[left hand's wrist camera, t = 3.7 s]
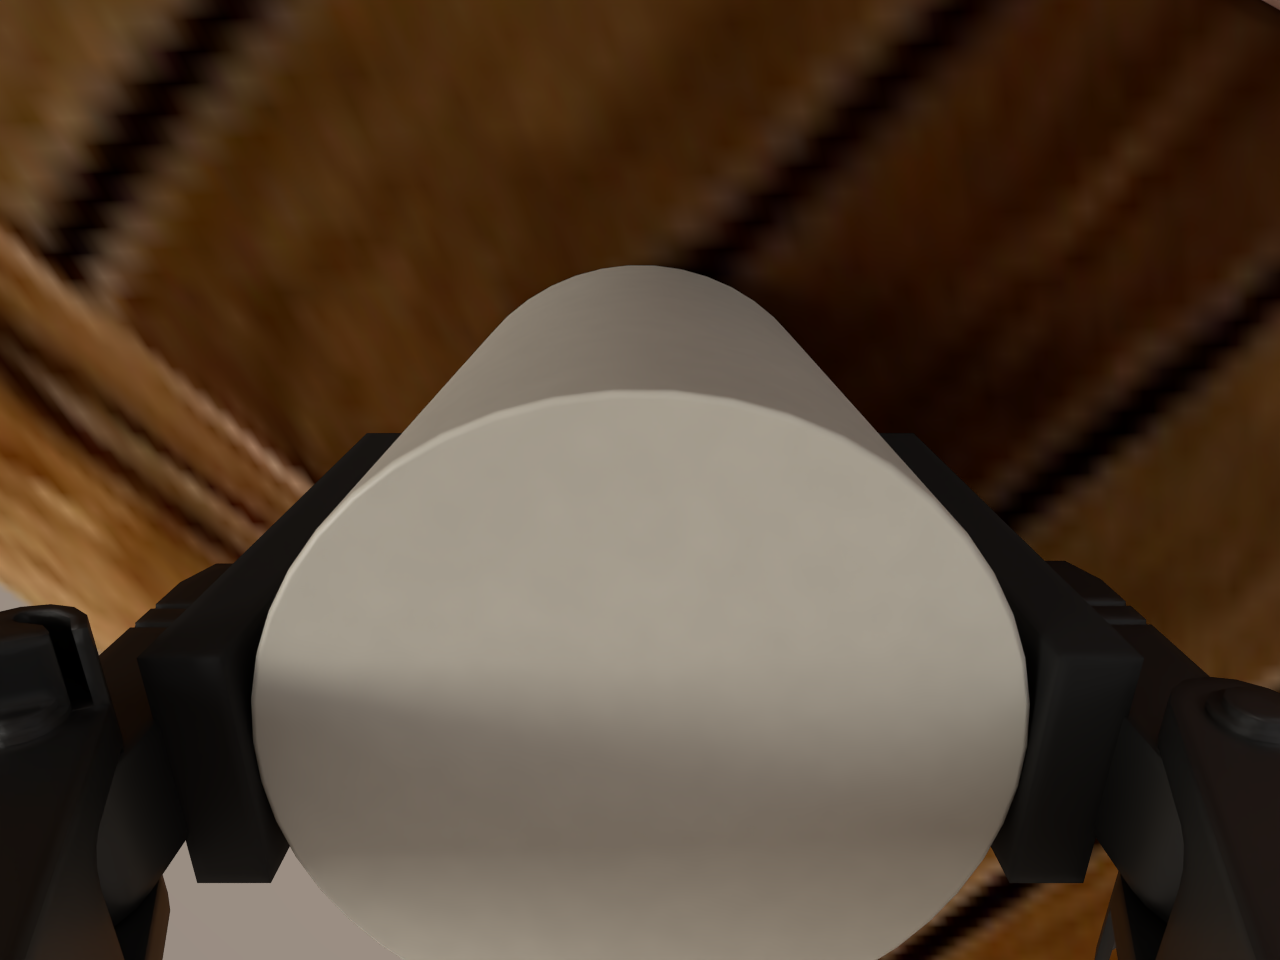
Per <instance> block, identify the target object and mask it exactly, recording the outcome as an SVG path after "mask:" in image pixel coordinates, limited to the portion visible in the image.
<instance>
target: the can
mask: <svg viewBox="0 0 1280 960" xmlns="http://www.w3.org/2000/svg"><path fill="white" fill-rule="evenodd" d="M251 708H252V729H253V744H254V749H255V753H256V758H257V763H258V768H259V772H260V777H261V782H262V785H263V787H264V790H265V793H266V795H267V798H268V801H269V803H270V806H271V809H272V811H273V814H274V817H275V819H276V822H277V823H278V825H279V827H280V829H281V831H282V832H283V834H284V836H285V838H286V840H287V841H288V843H289V845H290V847H291V849H292V851H293V852H294V854H295V856H296V857H297V859H298V860H299V861H300V863H301V864H302V865H303V867H304V868H305V869H306V871H307V872H308V874H309V875H310V876H311V878H312V879H313V880H314V882H315V883H316V884H317V886H318V887H319V888H320V889H321V891H322V892H323V893H324V894H325V895H326V896H327V897H328V898H329V899H330V900H331V901H332V902H333V903H334V904H335V905H336V906H337V907H338V908H339V909H340V910H341V911H342V912H343V913H344V914H345V915H346V917H348V919H350V920H351V921H352V922H353V923H354V924H356V925H357V926H358V927H359V928H361V929H362V930H363V931H364V932H366V933H367V934H368V935H369V936H370V937H372V938H373V939H374V940H375V941H376V942H378V943H379V944H380V945H382V946H383V947H385V948H386V949H388V950H389V951H391V952H392V953H394V954H395V955H397V956H398V957H400V958H402V959H403V960H878V959H879V958H881V957H882V956H884V955H885V954H887V953H889V952H890V951H892V950H893V949H895V948H896V947H898V946H899V945H900V944H902V943H903V942H904V941H905V940H907V939H908V938H909V937H910V936H912V935H913V934H914V933H915V932H917V931H918V930H919V929H920V928H922V927H923V926H924V925H925V924H927V923H928V922H929V921H930V920H931V919H932V918H933V917H934V916H935V915H936V914H937V913H938V912H939V911H940V910H941V909H942V908H943V907H944V906H945V905H946V904H947V903H948V902H949V901H950V900H951V899H952V898H953V897H954V896H955V895H956V894H957V893H958V892H959V890H960V889H961V888H962V886H963V885H964V884H965V882H966V881H967V880H968V878H969V877H970V876H971V875H972V873H973V872H974V871H975V869H976V868H977V867H978V865H979V864H980V863H981V861H982V860H983V859H984V857H985V855H986V853H987V852H988V850H989V848H990V846H991V845H992V843H993V841H994V839H995V837H996V836H997V834H998V832H999V830H1000V829H1001V827H1002V825H1003V823H1004V821H1005V818H1006V815H1007V813H1008V810H1009V808H1010V805H1011V803H1012V800H1013V798H1014V795H1015V793H1016V790H1017V787H1018V784H1019V780H1020V775H1021V771H1022V766H1023V762H1024V758H1025V753H1026V749H1027V740H1028V724H1029V708H1030V700H1029V690H1028V680H1027V670H1026V660H1025V655H1024V651H1023V648H1022V644H1021V640H1020V637H1019V633H1018V629H1017V626H1016V622H1015V618H1014V615H1013V613H1012V610H1011V608H1010V606H1009V604H1008V602H1007V600H1006V597H1005V595H1004V593H1003V591H1002V589H1001V586H1000V584H999V582H998V580H997V578H996V576H995V573H994V572H993V570H992V569H991V567H990V566H989V564H988V563H987V561H986V560H985V558H984V557H983V555H982V554H981V552H980V551H979V549H978V548H977V546H976V545H975V543H974V542H973V540H972V539H971V538H970V536H969V535H968V533H967V532H966V531H965V530H964V529H963V527H962V526H961V525H960V524H959V523H958V522H957V521H956V520H955V519H954V517H953V516H952V515H951V514H950V513H949V512H948V511H947V510H946V508H945V507H944V506H943V505H942V504H941V503H940V502H939V501H938V500H937V498H936V497H935V496H934V495H933V494H932V493H931V492H930V491H929V489H928V488H927V487H926V486H925V485H924V484H923V483H922V482H921V481H920V479H919V478H918V477H917V476H916V475H915V474H914V473H913V472H912V470H911V469H910V468H909V467H908V466H907V465H906V464H905V463H904V462H903V460H902V459H901V458H900V457H899V456H898V455H897V454H896V453H895V452H894V450H893V449H892V448H891V447H890V446H889V445H888V444H887V443H886V441H885V440H884V439H883V438H882V437H881V436H880V435H879V434H878V433H877V431H876V430H875V429H874V428H873V427H872V426H871V425H870V424H869V422H868V421H867V420H866V419H865V418H864V417H863V416H862V415H861V414H860V412H859V411H858V410H857V409H856V408H855V407H854V406H853V405H852V403H851V402H850V401H849V400H848V399H847V398H846V397H845V396H844V395H843V393H842V392H841V391H840V390H839V389H838V388H837V387H836V386H835V384H834V383H833V382H832V381H831V380H830V379H829V378H828V377H827V376H826V374H825V373H824V372H823V371H822V370H821V369H820V368H819V367H818V365H817V364H816V363H815V362H814V361H813V360H812V359H811V358H810V357H809V355H808V354H807V353H806V352H805V351H804V350H803V349H802V348H801V346H800V345H799V344H798V343H797V342H796V341H795V340H794V339H793V338H792V336H791V335H790V334H789V333H788V332H787V331H786V330H785V329H784V328H783V327H782V326H781V324H780V323H779V322H778V321H777V320H776V319H775V318H774V317H773V316H772V315H770V314H769V313H768V312H767V311H766V310H764V309H763V308H762V307H761V306H759V305H758V304H757V303H756V302H755V301H753V300H752V299H750V298H748V297H747V296H745V295H743V294H742V293H740V292H738V291H737V290H735V289H734V288H732V287H730V286H727V285H725V284H723V283H721V282H718V281H716V280H714V279H711V278H709V277H706V276H703V275H699V274H696V273H692V272H689V271H685V270H682V269H675V268H668V267H661V266H620V267H613V268H605V269H599V270H596V271H592V272H588V273H584V274H581V275H577V276H574V277H572V278H569V279H567V280H565V281H562V282H560V283H558V284H555V285H553V286H551V287H549V288H547V289H546V290H544V291H542V292H540V293H539V294H537V295H535V296H534V297H532V298H530V299H529V300H527V301H526V302H525V303H524V304H522V305H521V306H520V307H519V308H517V309H516V310H515V311H514V312H512V313H511V314H510V315H509V316H508V317H507V318H506V319H505V320H504V321H503V322H502V323H501V324H500V325H499V326H498V327H497V328H496V329H495V330H494V331H493V332H492V333H491V335H490V336H489V337H488V338H487V339H486V340H485V341H484V342H483V343H482V345H481V346H480V347H479V348H478V349H477V350H476V351H475V352H474V354H473V355H472V356H471V357H470V358H469V359H468V360H467V361H466V362H465V364H464V365H463V366H462V367H461V368H460V369H459V370H458V371H457V373H456V374H455V375H454V376H453V377H452V378H451V379H450V380H449V381H448V383H447V384H446V385H445V386H444V387H443V388H442V389H441V390H440V392H439V393H438V394H437V395H436V396H435V397H434V398H433V399H432V401H431V402H430V403H429V404H428V405H427V406H426V407H425V408H424V409H423V411H422V412H421V413H420V414H419V415H418V416H417V417H416V418H415V420H414V421H413V422H412V423H411V424H410V425H409V426H408V427H407V428H406V430H405V431H404V432H403V433H402V434H401V435H400V436H399V437H398V439H397V440H396V441H395V442H394V443H393V444H392V445H391V446H390V447H389V449H388V450H387V451H386V452H385V453H384V454H383V455H382V456H381V458H380V459H379V460H378V461H377V462H376V463H375V464H374V465H373V467H372V468H371V469H370V470H369V471H368V472H367V473H366V474H365V475H364V477H363V478H362V479H361V480H360V481H359V482H358V483H357V484H356V486H355V487H354V488H353V489H352V490H351V491H350V492H349V493H348V494H347V496H346V497H345V498H344V499H343V500H342V501H341V502H340V503H339V505H338V506H337V507H336V508H335V509H334V510H333V511H332V512H331V514H330V515H329V516H328V517H327V518H326V519H325V520H324V521H323V522H322V524H321V525H320V526H319V527H318V528H317V529H316V530H315V532H314V533H313V535H312V536H311V538H310V539H309V541H308V542H307V543H306V545H305V546H304V548H303V549H302V551H301V552H300V554H299V555H298V556H297V558H296V559H295V561H294V562H293V564H292V565H291V567H290V568H289V570H288V572H287V574H286V576H285V578H284V580H283V582H282V584H281V586H280V588H279V590H278V593H277V595H276V597H275V599H274V601H273V603H272V605H271V607H270V609H269V612H268V615H267V618H266V622H265V625H264V629H263V632H262V636H261V639H260V643H259V646H258V650H257V653H256V661H255V669H254V678H253V686H252V695H251Z"/></svg>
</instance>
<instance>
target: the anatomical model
mask: <svg viewBox="0 0 1280 960" xmlns="http://www.w3.org/2000/svg"><path fill="white" fill-rule="evenodd" d="M1263 1H1264V2H1266V3H1268V4H1270V5H1272V6H1273V7H1275V8H1277V9H1279V10H1280V0H1263Z"/></svg>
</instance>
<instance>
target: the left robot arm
mask: <svg viewBox="0 0 1280 960" xmlns="http://www.w3.org/2000/svg"><path fill="white" fill-rule="evenodd" d="M401 434H402V433H367V434H366V435H365V436H364V437H363V438H362V439H361V440H360V441H359V442H358V443H357V444H356V445H354V446H353V447H352V448H351V449H350V450H349V451H348V452H347V453H346V454H345V455H344V456H343V457H342V458H341V459H340V460H339V461H338V462H337V463H336V464H335V465H334V466H333V467H332V468H331V469H330V470H329V471H328V472H327V473H326V474H325V475H324V476H323V477H322V478H321V479H320V480H319V481H318V482H317V483H316V484H314V485H313V486H312V487H311V488H310V489H309V490H308V491H307V492H306V493H305V494H304V495H303V496H302V497H301V498H300V499H299V500H298V501H297V502H296V503H295V504H294V505H293V506H292V507H291V508H290V509H289V510H288V511H287V512H286V513H285V514H284V515H283V516H282V517H281V518H280V519H279V520H278V521H277V522H276V523H274V524H273V525H272V526H271V527H270V528H269V529H268V530H267V531H266V532H265V533H264V534H263V535H262V536H261V537H260V538H259V539H258V540H257V541H256V542H255V543H254V544H253V545H252V546H251V547H250V548H249V549H248V550H247V551H246V552H245V553H244V554H243V555H242V556H241V557H240V558H239V559H238V560H237V561H236V562H234V563H233V564H215V565H213V566H211V567H209V568H207V569H205V570H203V571H201V572H199V573H197V574H195V575H193V576H192V577H190V578H188V579H186V580H184V581H182V582H180V583H179V584H178V585H177V586H176V587H174V588H173V589H172V590H171V591H170V592H169V593H168V594H167V595H166V596H165V597H163V598H162V599H161V600H160V601H159V602H158V603H157V604H156V608H155V609H150V610H149V611H148V612H147V613H146V614H145V615H143V616H142V617H141V618H140V619H139V620H138V621H137V622H136V623H135V624H136V625H135V628H129V629H128V630H127V631H126V632H125V633H124V634H122V635H121V636H120V637H119V638H118V639H117V640H116V641H115V642H114V643H112V644H111V645H110V646H109V647H108V648H107V649H106V650H105V651H104V652H103V653H101V654H100V655H98V651H97V648H96V644H95V641H94V638H93V634H92V631H91V627H90V624H89V620H88V617H87V615H86V614H84V613H83V612H81V611H80V610H78V609H76V608H75V607H69V606H61V605H52V604H49V605H38V606H27V607H19V608H14V609H10V610H6V611H1V612H0V960H162V959H163V952H164V946H165V940H166V933H167V927H168V921H169V914H170V906H169V898H168V892H167V889H166V885H165V882H164V878H163V875H162V874H163V873H164V871H165V870H166V868H167V867H168V865H169V864H170V862H171V861H172V860H173V858H174V857H175V855H176V854H177V852H178V851H179V849H180V848H181V846H182V845H183V843H184V842H185V840H186V843H187V846H188V850H189V854H190V858H191V861H192V865H193V868H194V872H195V876H196V880H197V883H271V882H272V880H273V878H274V876H275V874H276V872H277V870H278V868H279V866H280V864H281V862H282V860H283V858H284V856H285V854H286V852H287V850H288V848H289V847H290V845H289V843H288V841H287V840H286V838H285V836H284V834H283V832H282V831H281V829H280V827H279V825H278V823H277V822H276V819H275V817H274V814H273V811H272V809H271V806H270V803H269V801H268V798H267V795H266V793H265V790H264V787H263V785H262V782H261V777H260V772H259V768H258V763H257V758H256V753H255V749H254V744H253V729H252V708H251V695H252V686H253V678H254V669H255V661H256V653H257V650H258V646H259V643H260V639H261V636H262V632H263V629H264V625H265V622H266V618H267V615H268V612H269V609H270V607H271V605H272V603H273V601H274V599H275V597H276V595H277V593H278V590H279V588H280V586H281V584H282V582H283V580H284V578H285V576H286V574H287V572H288V570H289V568H290V567H291V565H292V564H293V562H294V561H295V559H296V558H297V556H298V555H299V554H300V552H301V551H302V549H303V548H304V546H305V545H306V543H307V542H308V541H309V539H310V538H311V536H312V535H313V533H314V532H315V530H316V529H317V528H318V527H319V526H320V525H321V524H322V522H323V521H324V520H325V519H326V518H327V517H328V516H329V515H330V514H331V512H332V511H333V510H334V509H335V508H336V507H337V506H338V505H339V503H340V502H341V501H342V500H343V499H344V498H345V497H346V496H347V494H348V493H349V492H350V491H351V490H352V489H353V488H354V487H355V486H356V484H357V483H358V482H359V481H360V480H361V479H362V478H363V477H364V475H365V474H366V473H367V472H368V471H369V470H370V469H371V468H372V467H373V465H374V464H375V463H376V462H377V461H378V460H379V459H380V458H381V456H382V455H383V454H384V453H385V452H386V451H387V450H388V449H389V447H390V446H391V445H392V444H393V443H394V442H395V441H396V440H397V439H398V437H399V436H400V435H401ZM878 434H879V435H880V436H881V437H882V438H883V439H884V440H885V441H886V443H887V444H888V445H889V446H890V447H891V448H892V449H893V450H894V452H895V453H896V454H897V455H898V456H899V457H900V458H901V459H902V460H903V462H904V463H905V464H906V465H907V466H908V467H909V468H910V469H911V470H912V472H913V473H914V474H915V475H916V476H917V477H918V478H919V479H920V481H921V482H922V483H923V484H924V485H925V486H926V487H927V488H928V489H929V491H930V492H931V493H932V494H933V495H934V496H935V497H936V498H937V500H938V501H939V502H940V503H941V504H942V505H943V506H944V507H945V508H946V510H947V511H948V512H949V513H950V514H951V515H952V516H953V517H954V519H955V520H956V521H957V522H958V523H959V524H960V525H961V526H962V527H963V529H964V530H965V531H966V532H967V533H968V535H969V536H970V538H971V539H972V540H973V542H974V543H975V545H976V546H977V548H978V549H979V551H980V552H981V554H982V555H983V557H984V558H985V560H986V561H987V563H988V564H989V566H990V567H991V569H992V570H993V572H994V573H995V576H996V578H997V580H998V582H999V584H1000V586H1001V589H1002V591H1003V593H1004V595H1005V597H1006V600H1007V602H1008V604H1009V606H1010V608H1011V610H1012V613H1013V615H1014V618H1015V622H1016V626H1017V629H1018V633H1019V637H1020V640H1021V644H1022V648H1023V651H1024V655H1025V660H1026V670H1027V680H1028V690H1029V700H1030V708H1029V724H1028V740H1027V749H1026V753H1025V758H1024V762H1023V766H1022V771H1021V775H1020V780H1019V784H1018V787H1017V790H1016V793H1015V795H1014V798H1013V800H1012V803H1011V805H1010V808H1009V810H1008V813H1007V815H1006V818H1005V821H1004V823H1003V825H1002V827H1001V829H1000V830H999V832H998V834H997V836H996V837H995V839H994V841H993V843H992V845H991V848H992V849H993V851H994V853H995V855H996V857H997V859H998V861H999V863H1000V865H1001V867H1002V869H1003V871H1004V873H1005V875H1006V877H1007V879H1008V881H1009V882H1010V883H1083V882H1084V878H1085V875H1086V871H1087V867H1088V864H1089V860H1090V856H1091V852H1092V849H1093V845H1094V841H1095V838H1097V840H1098V841H1099V843H1100V844H1101V845H1102V847H1103V848H1104V850H1105V851H1106V853H1107V854H1108V856H1109V857H1110V859H1111V860H1112V862H1113V863H1114V865H1115V866H1116V868H1117V869H1118V870H1119V871H1118V875H1117V878H1116V882H1115V885H1114V889H1113V892H1112V895H1111V899H1110V902H1109V906H1108V909H1107V913H1106V916H1105V920H1104V923H1103V926H1102V930H1101V933H1100V937H1099V940H1098V944H1097V947H1096V954H1095V960H1109V959H1110V955H1111V952H1112V950H1113V949H1115V948H1116V950H1117V956H1118V960H1280V693H1278V692H1275V691H1273V690H1271V689H1269V688H1265V687H1261V686H1258V685H1254V684H1250V683H1246V682H1243V681H1239V680H1235V679H1225V678H1215V677H1209V676H1208V675H1207V674H1206V673H1205V672H1204V671H1203V670H1202V669H1200V668H1199V667H1198V666H1197V665H1196V664H1195V663H1194V662H1193V661H1192V660H1190V659H1189V658H1188V657H1187V656H1186V655H1185V654H1184V653H1183V652H1181V651H1180V650H1179V649H1178V648H1177V647H1176V646H1175V645H1174V644H1173V643H1171V642H1170V641H1169V640H1168V639H1167V638H1166V637H1165V636H1164V635H1163V634H1161V633H1160V632H1159V631H1158V630H1157V629H1156V628H1155V627H1154V626H1152V625H1147V624H1146V619H1145V618H1144V617H1142V616H1141V615H1140V614H1139V613H1138V612H1137V611H1136V610H1135V609H1133V608H1132V607H1131V606H1126V604H1125V603H1126V601H1125V600H1123V599H1122V598H1121V597H1120V596H1119V595H1118V594H1117V593H1116V592H1114V591H1113V590H1112V589H1111V588H1110V587H1109V586H1108V585H1107V584H1106V583H1104V582H1103V581H1102V580H1101V579H1099V578H1097V577H1095V576H1093V575H1091V574H1089V573H1087V572H1085V571H1083V570H1082V569H1080V568H1078V567H1076V566H1074V565H1072V564H1070V563H1068V562H1066V561H1044V560H1043V559H1042V558H1041V557H1040V556H1039V555H1038V554H1037V553H1036V552H1035V551H1034V550H1033V549H1032V548H1031V547H1030V546H1029V545H1028V544H1027V543H1026V542H1025V541H1024V540H1022V539H1021V538H1020V537H1019V536H1018V535H1017V534H1016V533H1015V532H1014V531H1013V530H1012V529H1011V528H1010V527H1009V526H1008V525H1007V524H1006V523H1005V522H1004V521H1003V520H1002V519H1001V518H1000V517H999V516H998V515H997V514H996V513H995V512H994V511H993V510H992V509H991V508H990V507H989V506H988V505H987V504H986V503H985V502H984V501H982V500H981V499H980V498H979V497H978V496H977V495H976V494H975V493H974V492H973V491H972V490H971V489H970V488H969V487H968V486H967V485H966V484H965V483H964V482H963V481H962V480H961V479H960V478H959V477H958V476H957V475H956V474H955V473H954V472H953V471H952V470H951V469H950V468H949V467H948V466H947V465H946V464H945V463H943V462H942V461H941V460H940V459H939V458H938V457H937V456H936V455H935V454H934V453H933V452H932V451H931V450H930V449H929V448H928V447H927V446H926V445H925V444H924V443H923V442H922V441H921V440H920V439H919V438H918V437H917V436H916V435H915V434H914V433H878Z"/></svg>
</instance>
